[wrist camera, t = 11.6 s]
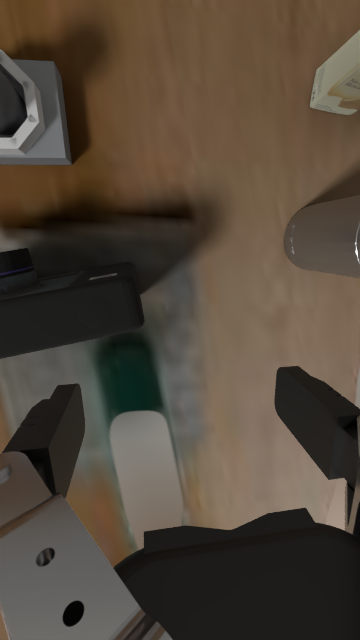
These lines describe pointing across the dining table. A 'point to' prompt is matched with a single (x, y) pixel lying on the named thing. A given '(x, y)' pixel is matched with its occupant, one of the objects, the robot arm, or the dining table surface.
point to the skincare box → (339, 80)
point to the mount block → (36, 115)
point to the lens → (10, 108)
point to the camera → (63, 304)
